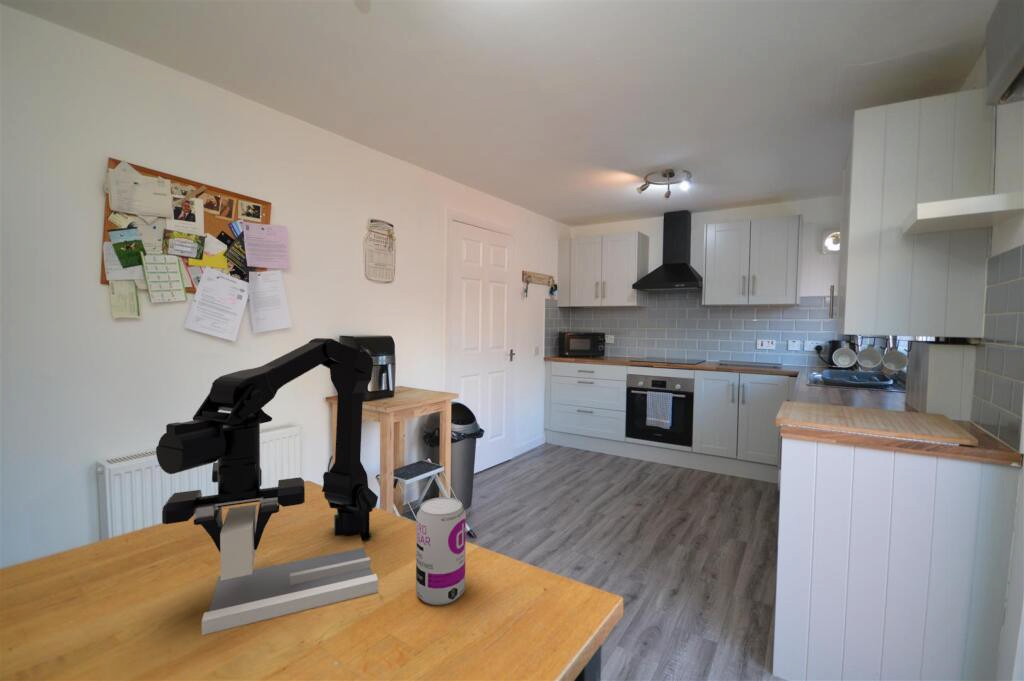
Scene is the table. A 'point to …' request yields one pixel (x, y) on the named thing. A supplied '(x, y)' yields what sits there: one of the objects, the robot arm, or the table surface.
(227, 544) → the carton
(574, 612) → the table surface
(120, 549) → the table surface
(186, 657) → the table surface
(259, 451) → the robot arm
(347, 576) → the shelf board
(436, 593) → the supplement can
